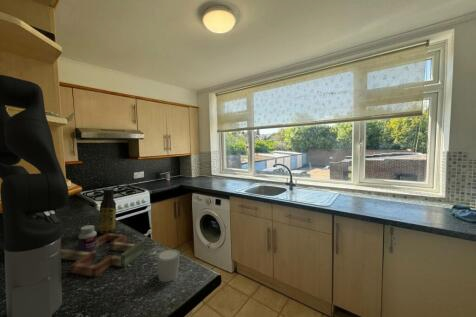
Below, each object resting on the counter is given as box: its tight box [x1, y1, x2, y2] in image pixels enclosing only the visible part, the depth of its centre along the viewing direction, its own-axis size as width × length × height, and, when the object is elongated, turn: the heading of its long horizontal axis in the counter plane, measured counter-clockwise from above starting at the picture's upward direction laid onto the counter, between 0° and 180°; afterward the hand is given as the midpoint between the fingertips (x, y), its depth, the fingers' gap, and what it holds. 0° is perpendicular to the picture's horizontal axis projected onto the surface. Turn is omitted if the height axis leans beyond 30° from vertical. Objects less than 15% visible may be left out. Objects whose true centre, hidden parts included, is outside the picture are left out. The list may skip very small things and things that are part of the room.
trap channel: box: [61, 233, 144, 278], centre depth 73 cm, size 26×22×4 cm
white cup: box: [156, 248, 181, 283], centre depth 63 cm, size 7×7×7 cm
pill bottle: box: [77, 224, 98, 254], centre depth 74 cm, size 5×5×10 cm
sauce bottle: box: [98, 187, 117, 235], centre depth 91 cm, size 6×6×20 cm
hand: (55, 224), depth 75 cm, fingers closed
